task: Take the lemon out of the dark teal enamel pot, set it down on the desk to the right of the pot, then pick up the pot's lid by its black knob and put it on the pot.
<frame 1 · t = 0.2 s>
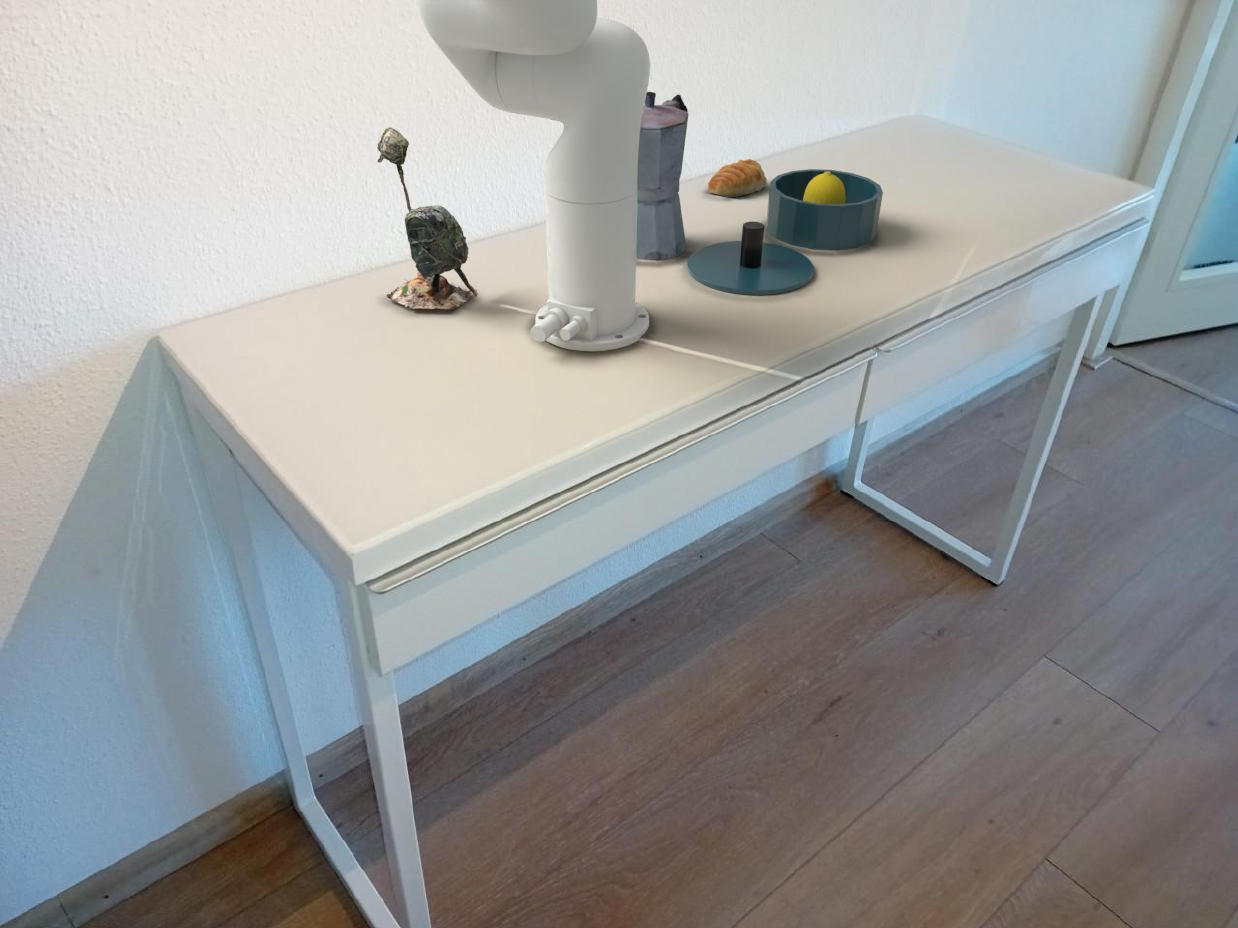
pastry: (736, 191, 146), on the table
lemon: (820, 232, 132), resting on pot
stone sculpture: (436, 303, 114), on the table
moka pot: (651, 251, 127), on the table
lid: (749, 268, 121), point 1 cm above the table
pot: (819, 233, 132), on the table
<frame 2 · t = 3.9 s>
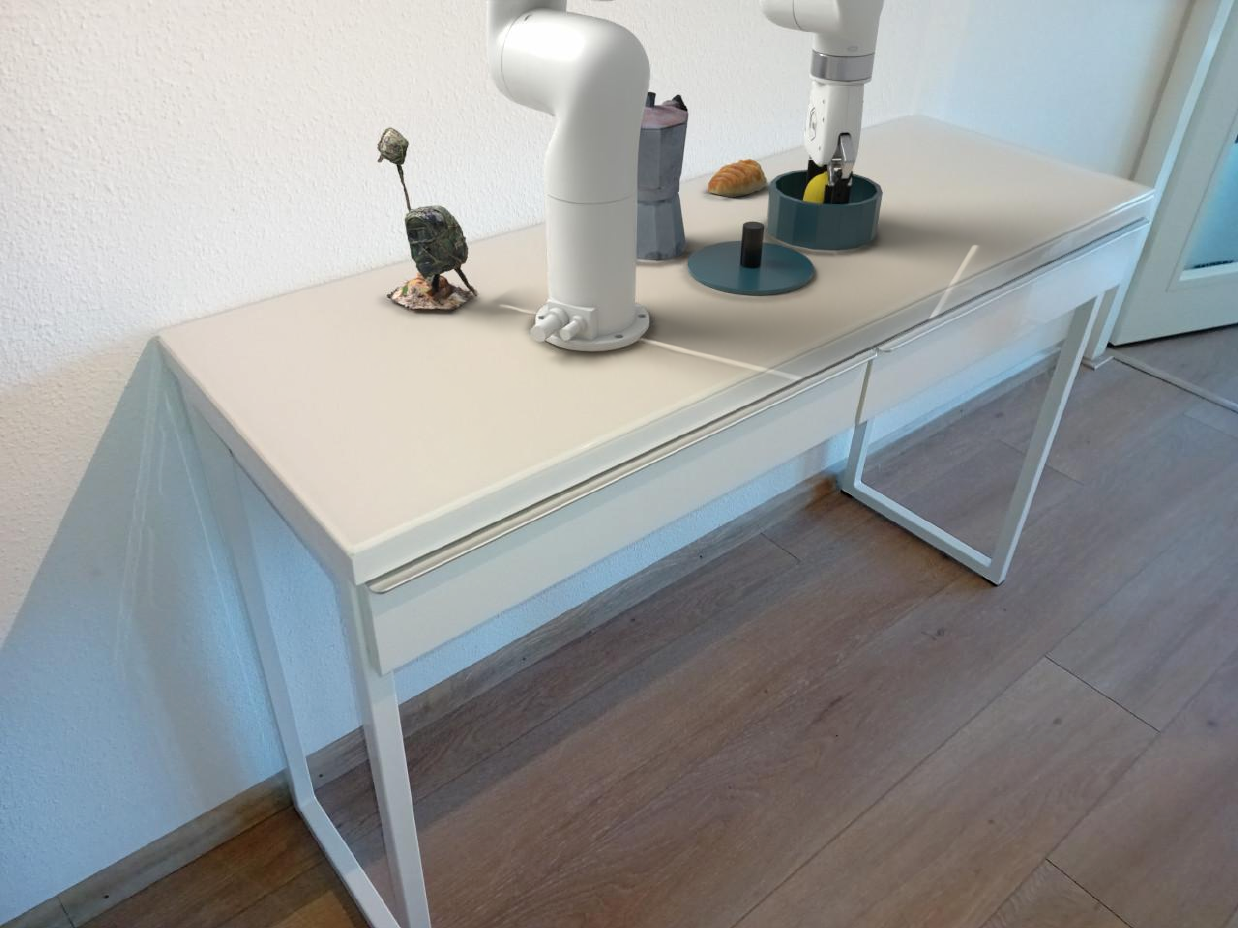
hand: (825, 201, 130), 4 cm above the table, tool pointing down, fingers open, 9 cm apart
nothing on the table moved.
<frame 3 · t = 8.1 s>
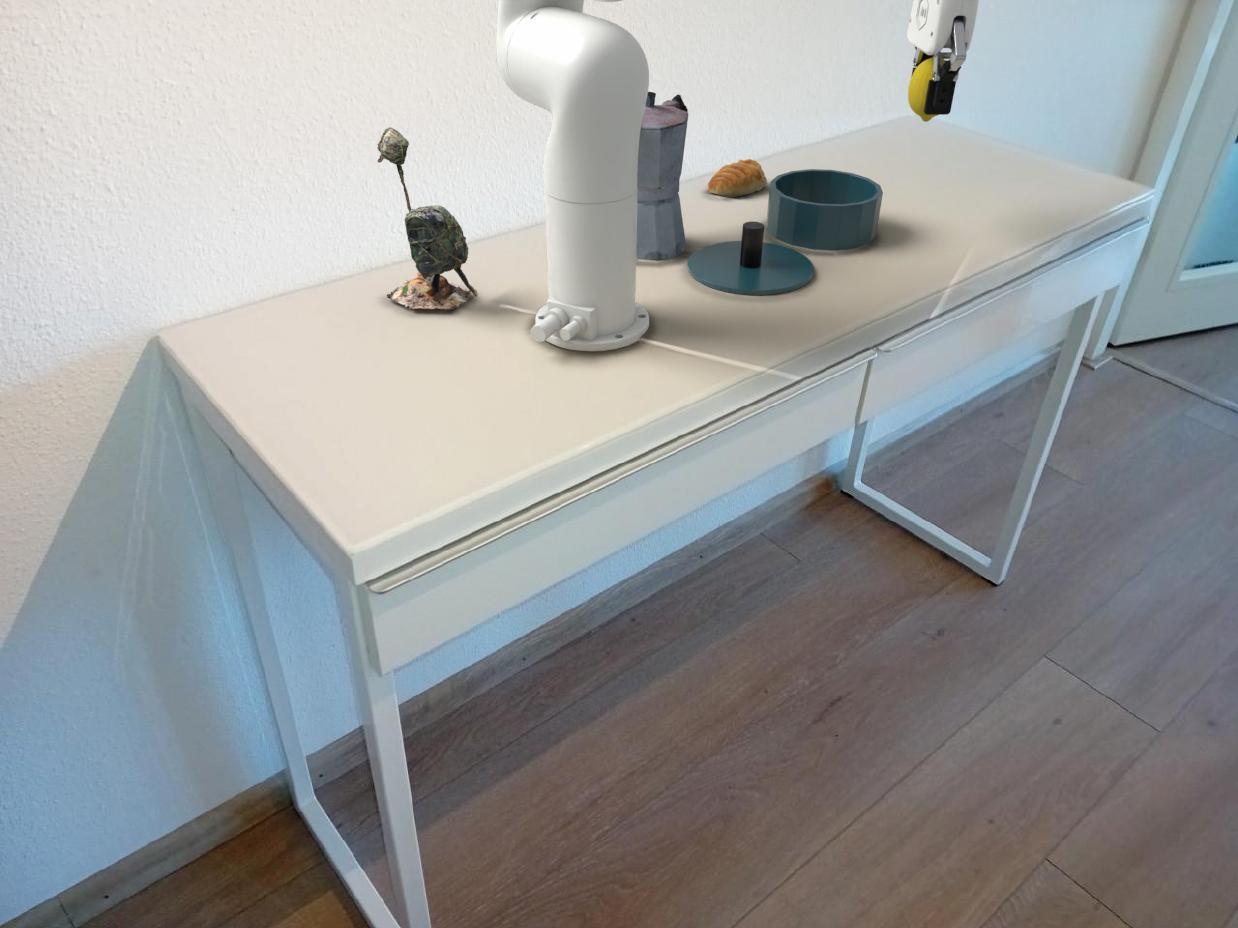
hand: (928, 105, 123), 17 cm above the table, tool pointing down, fingers closed on lemon, 5 cm apart
lemon: (925, 123, 124), point 14 cm above the table, touching gripper
everything else where it was.
when the fingers open (2 cm above the table, at t = 11.8 s): lemon stays where it is, on the table.
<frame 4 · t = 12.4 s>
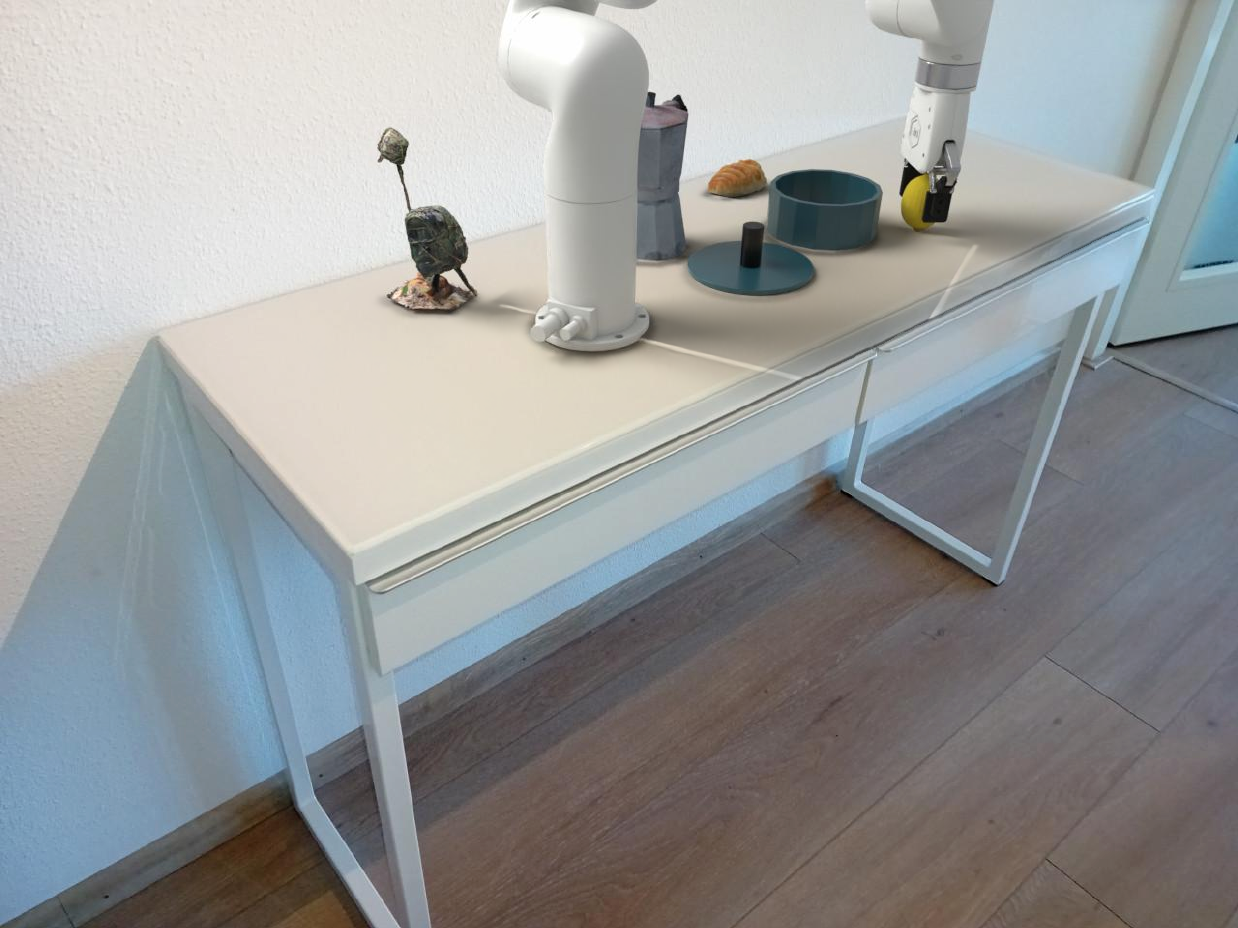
hand: (921, 208, 131), 3 cm above the table, tool pointing down, fingers open, 9 cm apart
lemon: (917, 233, 133), on the table
everything else where it was.
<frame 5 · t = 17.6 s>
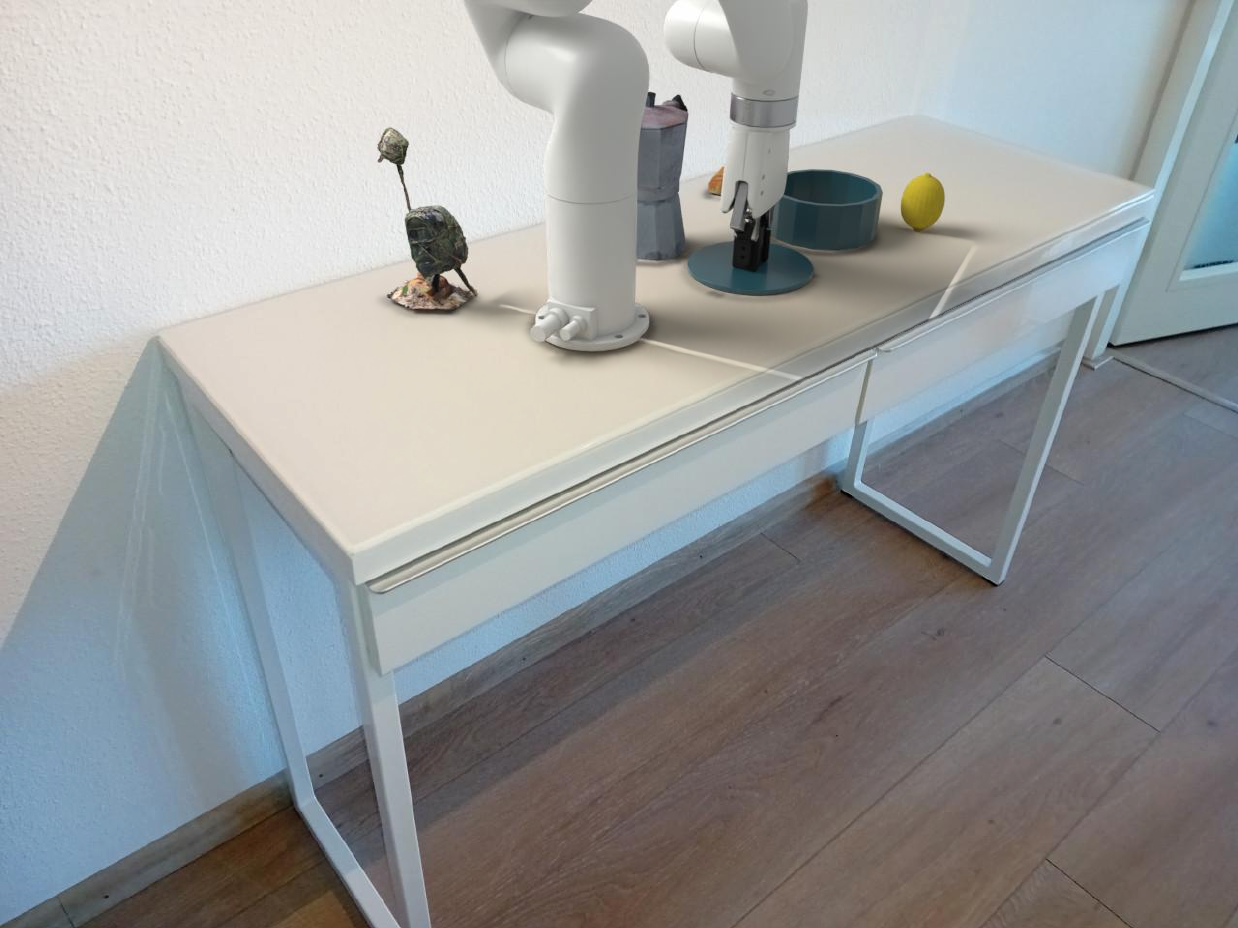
hand: (750, 262, 120), 1 cm above the table, tool pointing down, fingers closed on lid, 2 cm apart
lid: (749, 268, 121), point 1 cm above the table, touching gripper
everything else where it was.
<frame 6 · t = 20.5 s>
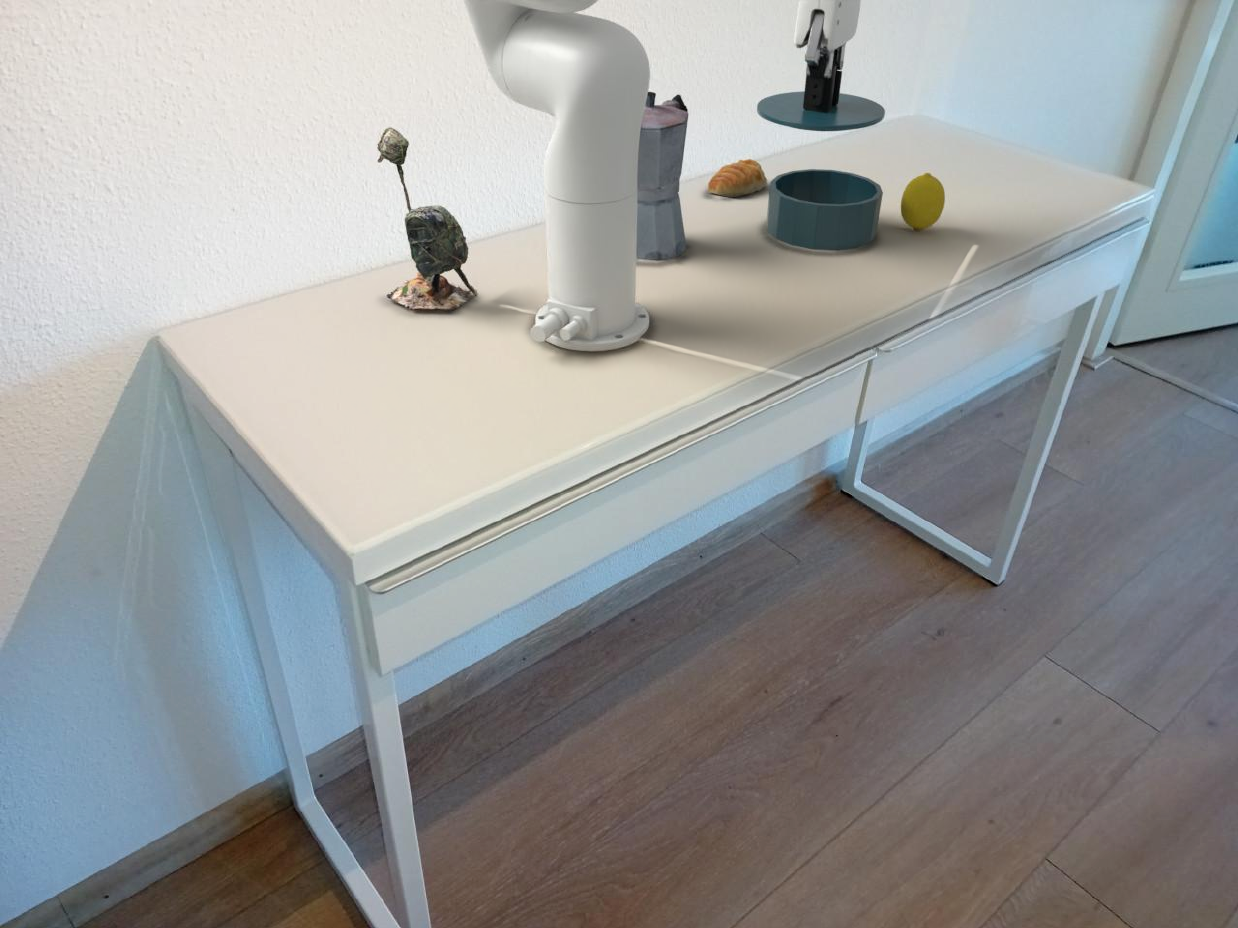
hand: (820, 106, 119), 17 cm above the table, tool pointing down, fingers closed on lid, 2 cm apart
lid: (820, 112, 120), point 17 cm above the table, touching gripper
everything else where it was.
when the fingers open (7 cm above the table, at t = 23.5 s): lid stays where it is, resting on pot.
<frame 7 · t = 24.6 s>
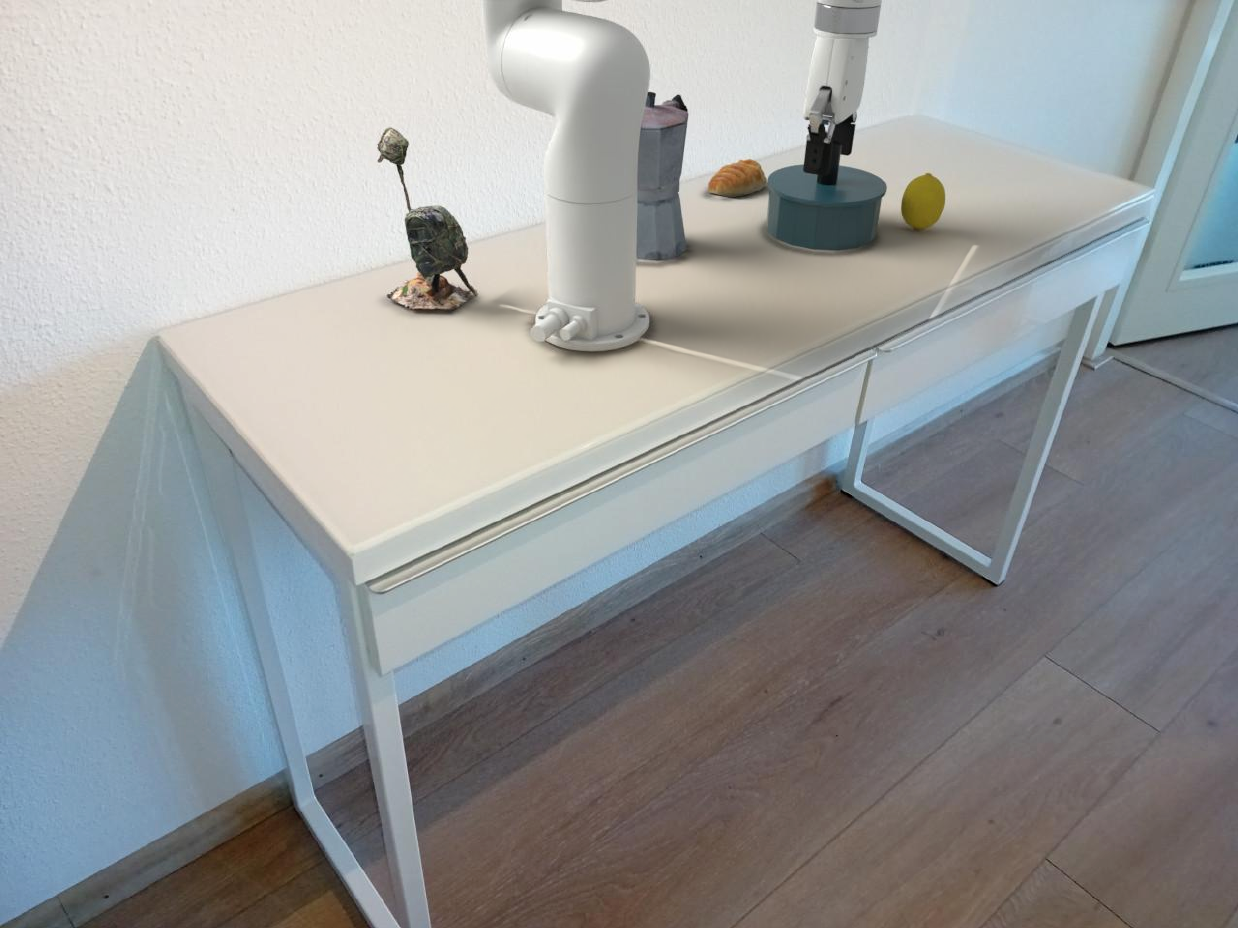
hand: (827, 163, 126), 10 cm above the table, tool pointing down, fingers open, 9 cm apart
lid: (826, 186, 128), point 6 cm above the table, touching pot
everything else where it was.
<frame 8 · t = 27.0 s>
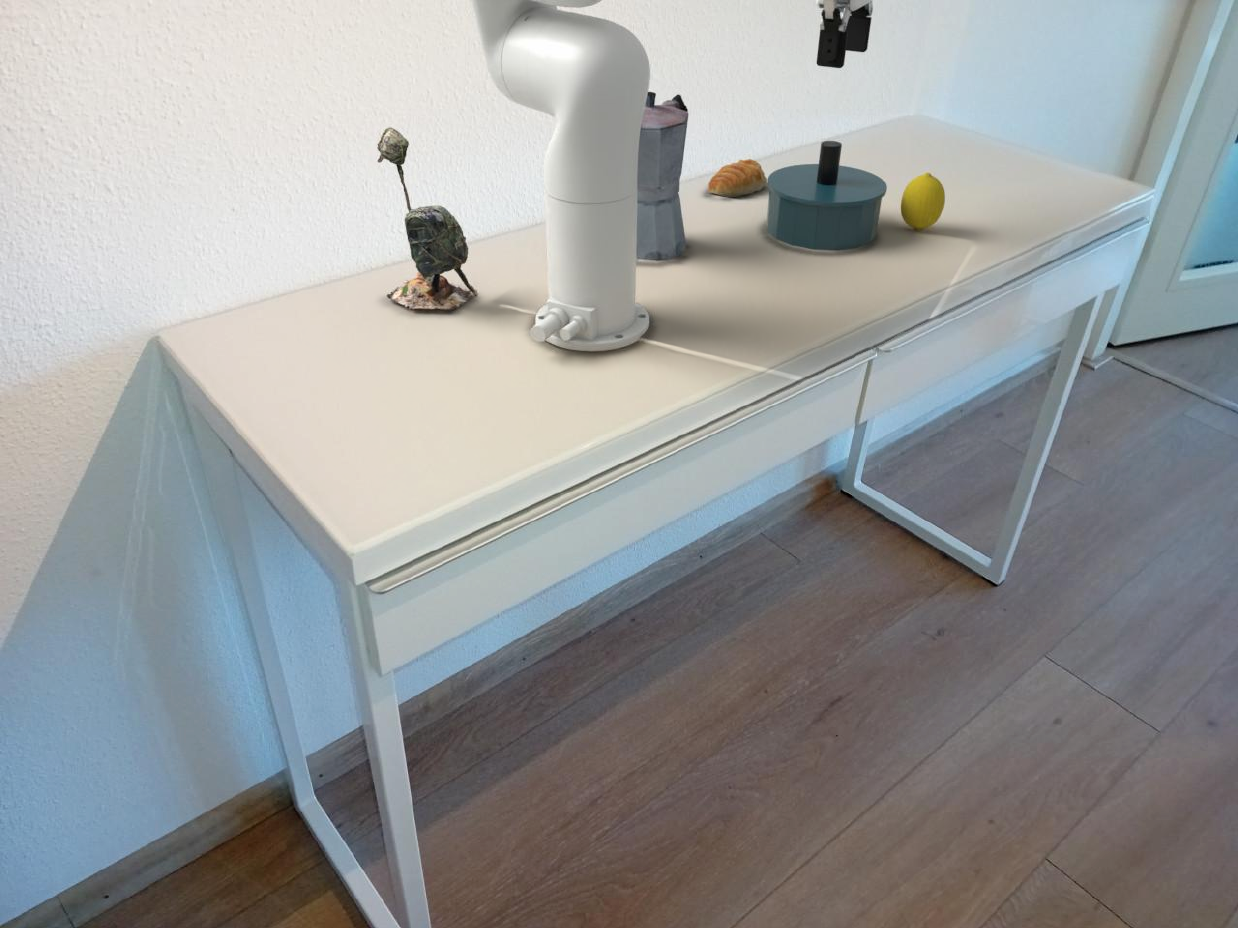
hand: (842, 58, 119), 22 cm above the table, tool pointing down, fingers open, 9 cm apart
nothing on the table moved.
at the end: lemon inside the target area (0.1 cm from its centre), on the table; lid 0.0 cm off-centre on the pot, point 6.4 cm above the pot's base; lid tilted 0° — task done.
